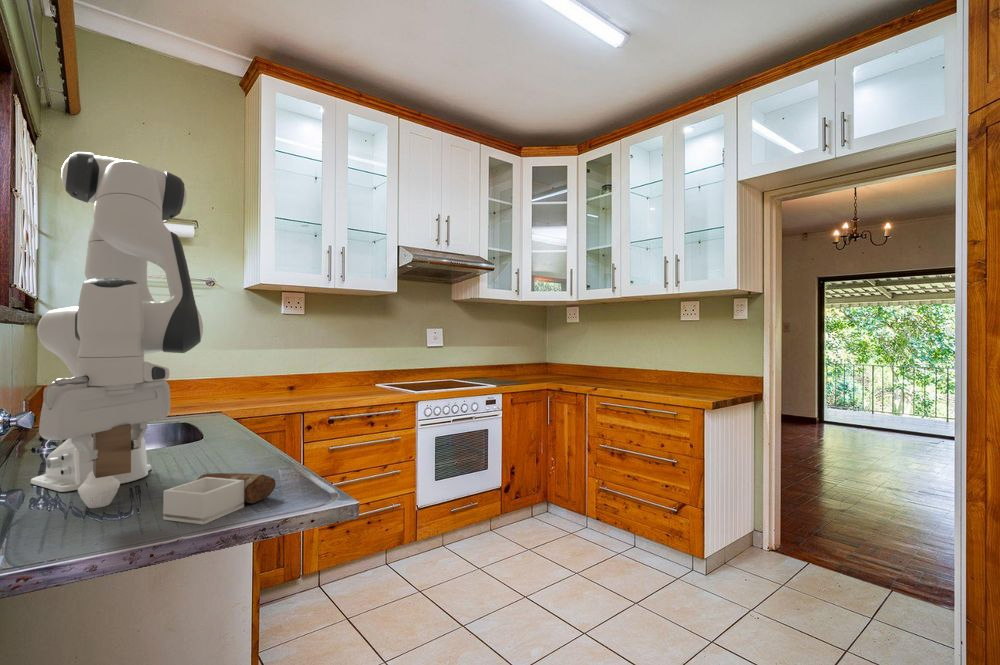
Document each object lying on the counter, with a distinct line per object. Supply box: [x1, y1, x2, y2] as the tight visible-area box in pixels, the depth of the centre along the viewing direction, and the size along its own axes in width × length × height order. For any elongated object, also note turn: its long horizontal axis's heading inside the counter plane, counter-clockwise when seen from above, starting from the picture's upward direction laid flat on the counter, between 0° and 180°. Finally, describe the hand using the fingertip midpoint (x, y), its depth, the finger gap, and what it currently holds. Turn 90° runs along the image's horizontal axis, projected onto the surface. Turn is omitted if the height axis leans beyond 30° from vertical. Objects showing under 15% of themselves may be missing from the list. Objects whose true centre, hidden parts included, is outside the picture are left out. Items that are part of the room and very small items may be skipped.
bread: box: [196, 472, 277, 504], centre depth 96 cm, size 6×19×6 cm, turn 63°
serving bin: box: [162, 477, 245, 525], centre depth 87 cm, size 9×9×5 cm
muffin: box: [77, 471, 121, 509], centre depth 91 cm, size 6×6×7 cm
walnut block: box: [93, 424, 131, 478], centre depth 81 cm, size 5×5×8 cm
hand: (112, 455), depth 81 cm, fingers closed on walnut block, 6 cm apart
